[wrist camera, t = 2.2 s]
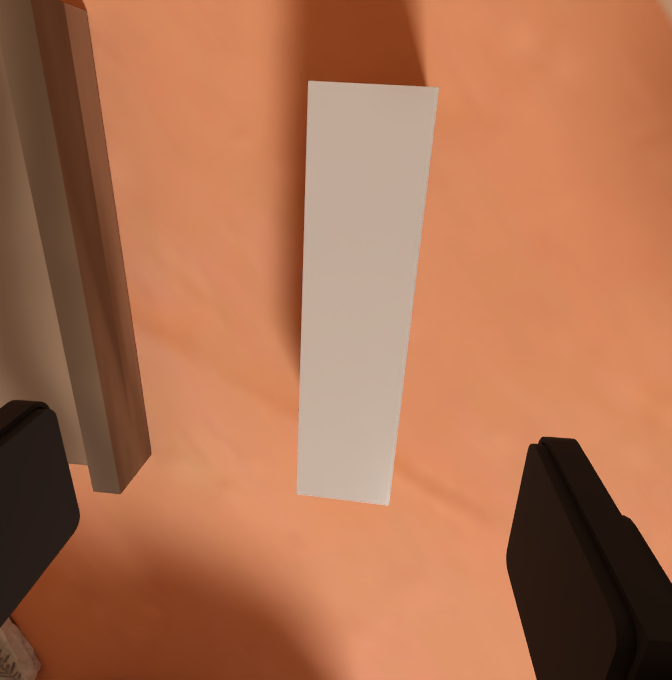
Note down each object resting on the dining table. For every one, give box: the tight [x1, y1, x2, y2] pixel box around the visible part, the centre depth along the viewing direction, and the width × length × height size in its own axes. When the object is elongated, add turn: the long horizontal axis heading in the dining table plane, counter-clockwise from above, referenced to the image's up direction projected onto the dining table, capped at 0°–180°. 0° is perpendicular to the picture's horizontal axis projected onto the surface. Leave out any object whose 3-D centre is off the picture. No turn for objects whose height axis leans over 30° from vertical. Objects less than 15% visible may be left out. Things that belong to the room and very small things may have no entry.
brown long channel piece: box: [0, 0, 151, 494], centre depth 24 cm, size 10×22×4 cm, turn 179°
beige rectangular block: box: [297, 81, 439, 506], centre depth 21 cm, size 4×16×6 cm, turn 177°
